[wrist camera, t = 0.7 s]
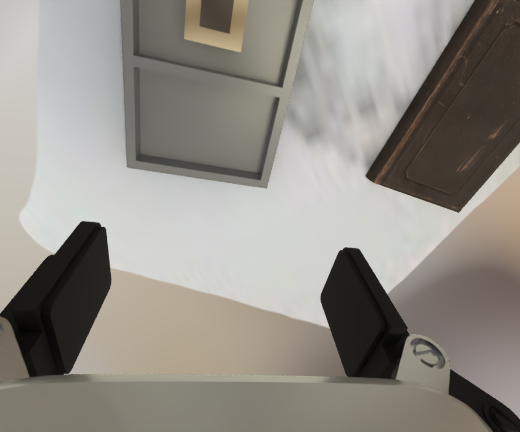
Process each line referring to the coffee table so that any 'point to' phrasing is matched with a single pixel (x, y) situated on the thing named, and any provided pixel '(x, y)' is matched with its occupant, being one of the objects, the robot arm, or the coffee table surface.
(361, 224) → the coffee table surface
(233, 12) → the birch cube
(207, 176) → the grey organiser
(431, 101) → the hardcover book
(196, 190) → the coffee table surface
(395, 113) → the coffee table surface
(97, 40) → the coffee table surface
